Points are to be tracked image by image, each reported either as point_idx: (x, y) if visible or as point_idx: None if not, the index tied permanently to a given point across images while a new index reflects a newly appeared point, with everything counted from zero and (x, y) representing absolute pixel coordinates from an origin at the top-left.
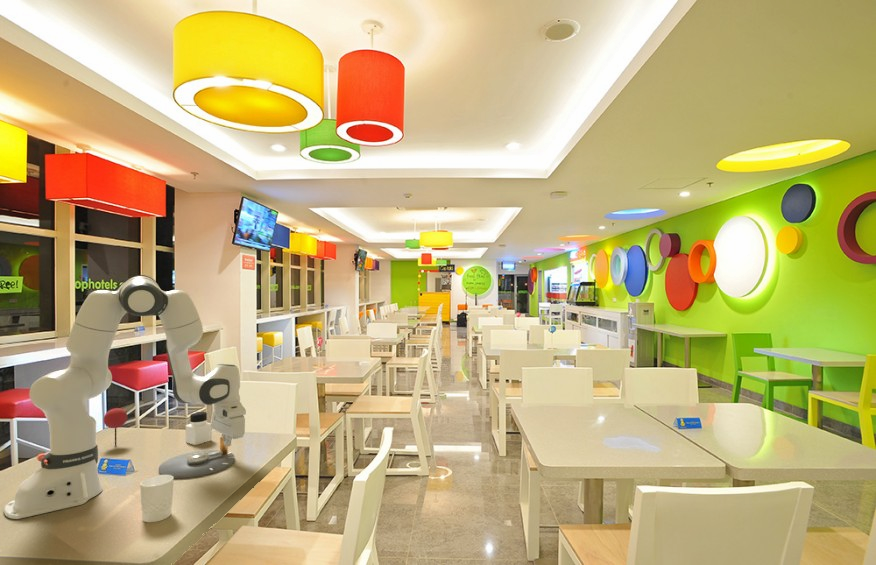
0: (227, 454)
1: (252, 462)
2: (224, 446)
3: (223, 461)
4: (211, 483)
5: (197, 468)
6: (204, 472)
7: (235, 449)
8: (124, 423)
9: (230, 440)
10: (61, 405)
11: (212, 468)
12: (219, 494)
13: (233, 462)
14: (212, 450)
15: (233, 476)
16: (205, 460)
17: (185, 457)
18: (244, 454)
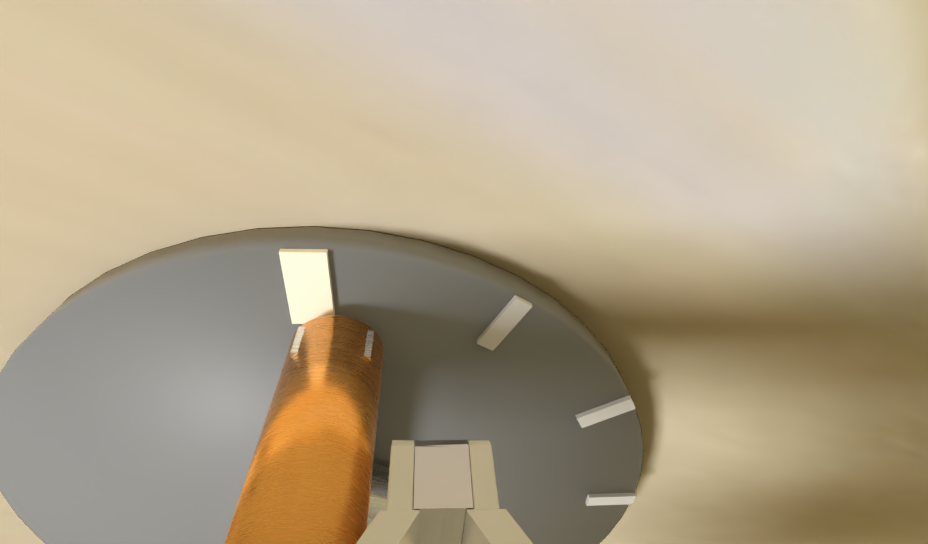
0: (338, 301)
1: (756, 169)
2: (373, 448)
3: (528, 399)
4: (757, 509)
5: None
6: (611, 525)
7: (11, 41)
8: None
9: (517, 535)
10: None
11: (600, 488)
12: (922, 522)
13: (557, 302)
14: (33, 349)
15: (823, 411)
16: None
17: (141, 528)
18: (385, 76)
